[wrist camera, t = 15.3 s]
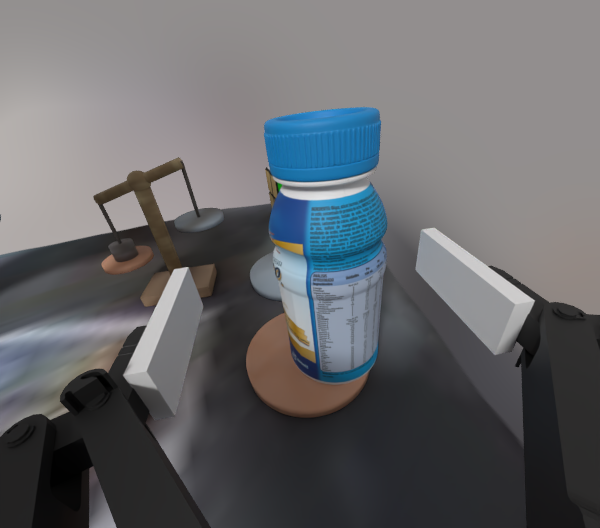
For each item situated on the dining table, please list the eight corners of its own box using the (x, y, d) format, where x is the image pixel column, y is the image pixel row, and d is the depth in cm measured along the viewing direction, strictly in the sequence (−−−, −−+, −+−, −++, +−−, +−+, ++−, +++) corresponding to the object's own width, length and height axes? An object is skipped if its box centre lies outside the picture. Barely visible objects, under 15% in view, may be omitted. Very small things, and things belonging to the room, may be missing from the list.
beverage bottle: (367, 404, 21) (381, 116, 11) (274, 371, 25) (215, 129, 14) (386, 329, 28) (407, 100, 17) (310, 311, 31) (288, 112, 20)
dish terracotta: (246, 430, 22) (243, 422, 21) (250, 324, 32) (247, 317, 31) (391, 402, 22) (392, 394, 22) (349, 307, 33) (349, 300, 32)
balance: (116, 311, 37) (36, 180, 27) (133, 285, 42) (70, 168, 33) (239, 291, 38) (201, 158, 28) (241, 268, 43) (210, 149, 34)
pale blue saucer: (250, 308, 34) (248, 300, 34) (252, 260, 45) (250, 254, 44) (343, 292, 35) (342, 285, 35) (323, 249, 45) (323, 242, 45)
